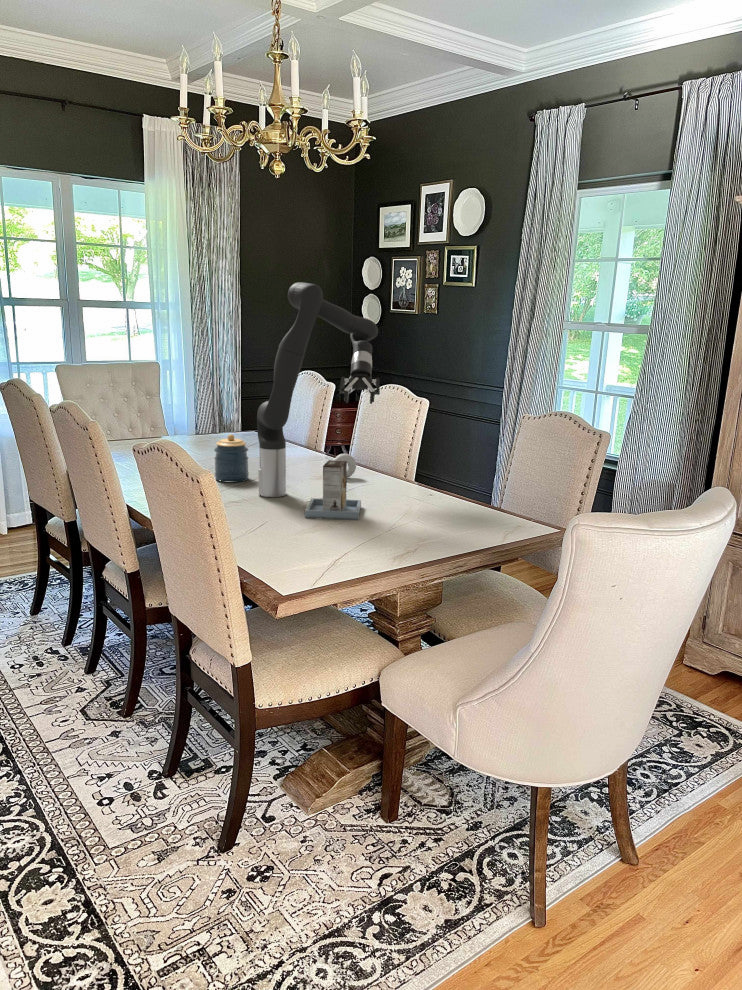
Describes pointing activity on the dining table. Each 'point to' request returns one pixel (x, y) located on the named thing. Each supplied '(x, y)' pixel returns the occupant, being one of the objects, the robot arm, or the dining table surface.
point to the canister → (231, 460)
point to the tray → (317, 511)
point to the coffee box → (334, 485)
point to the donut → (350, 462)
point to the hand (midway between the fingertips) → (358, 402)
